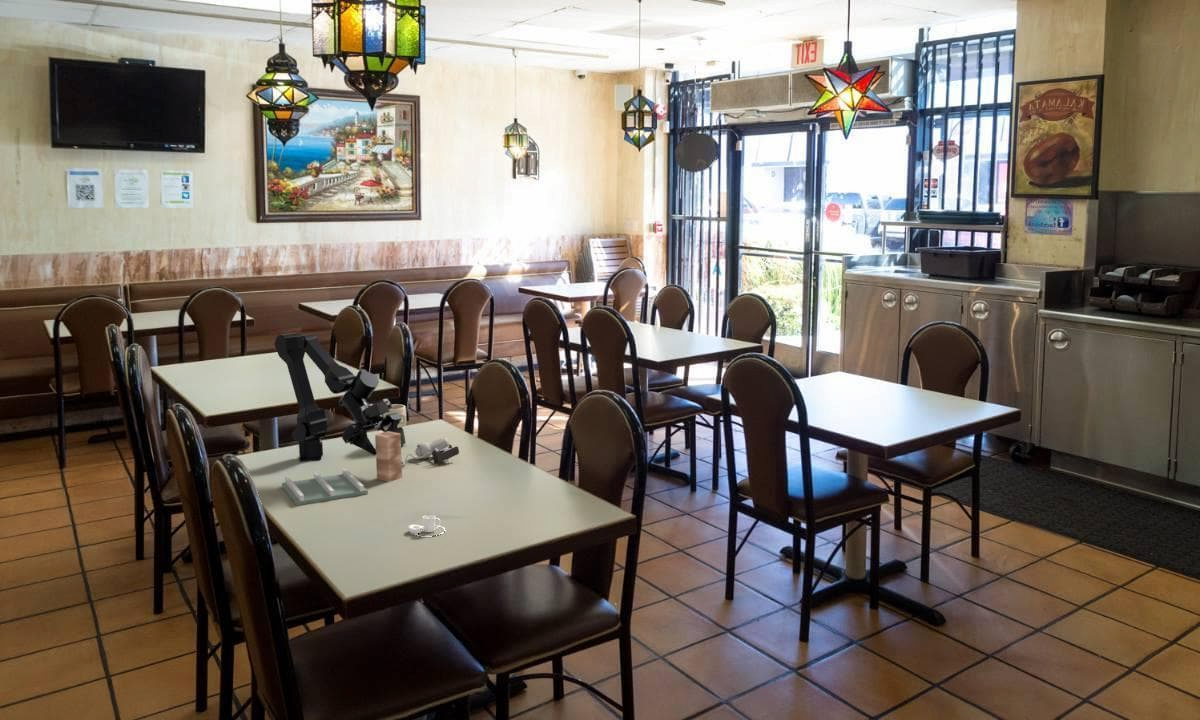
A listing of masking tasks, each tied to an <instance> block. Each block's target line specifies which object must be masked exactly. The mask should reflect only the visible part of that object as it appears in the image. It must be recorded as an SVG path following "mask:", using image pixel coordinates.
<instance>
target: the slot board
mask: <svg viewBox="0 0 1200 720" xmlns="http://www.w3.org/2000/svg"><path fill="white" fill-rule="evenodd" d="M341 472H342V474H341V473H340V474H335V475H333V474H332V475H328V476H322V475H320V474H319V472H314V473H313V475H314V476H313V478H306V479H301V480H294V481H293V480H292V479H291V477H289V476H287V477H284V480H285V481H284V482H282V483H281V487H282V489H283V490H284V491H285V492H286V494H287V495H288V497H289V498H290V499H291V500H292V501H293V502H294V504H295V505H296V506H301V505H307V504H312V503H313V504H314V503H319V502H320V503H321V502H327V501H331V500H337V499H338V500H339V499H344V498H350V497H357V496H363V495H368V494H369V491H368V489H367V488H366V487H365V485H364V484H363V483H362V482H360V480H359V479H358V478H356V477H355V476H354V475H353V474H352V473H351V472H350V471H349V470H348V469H347V468H342V471H341Z"/></svg>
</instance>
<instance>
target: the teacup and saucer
mask: <svg viewBox="0 0 1200 720" xmlns="http://www.w3.org/2000/svg"><path fill="white" fill-rule="evenodd" d="M437 520H438V521H439V523H438V525H436V521H437ZM435 526H437V527H436V528H435ZM423 527H424V528H423ZM438 527H442V528H443V529H444V531H445V532H446V531H447V529H446V527H444V526H442V525H441V519H440V518H439V517H436V515H435V514H426V515H422V525H419V524H410V525H408V526H407V531H408V532H409V533H411V534H413V535H414V536H416V535H417V536H416V537H419V535H418V534H417V533H419V534H421V533H422V532H423V530H424V532H425V533H426V532H432V533H433V531H434V532H435V531H436V530H437V529H438ZM445 529H446V530H445ZM439 533H440V532H439ZM440 534H441V535H444V534H445V533H444V532H442V533H440ZM440 534H439V536H441V535H440ZM435 537H437V535H436V536H435ZM420 538H432V536H429V535H425V536H421V537H420Z"/></svg>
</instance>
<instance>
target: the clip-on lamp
mask: <svg viewBox="0 0 1200 720" xmlns="http://www.w3.org/2000/svg"><path fill="white" fill-rule="evenodd" d="M414 453H415V455H416V456H414V455H413V454H412V453H409V454H407V456H406V458H405V460H404V461H402V466H406V463H407V459H408V458H409V456H410V457H411V458H413V459H414V460H418V459H421V460H425V459H428V458H429V457H431V456H432V459H433V463H434V464H435V465H436V464H438V466H441V465H443V464H444V461H446V460H448V459H450V458H453V457H455V456H458V455H459V454H460V450H459V446H454V447H453V446H452V444H450V442H449V440H448V438H447V437H442V438H438V439H435V440H433V441H430V442H426V441H421V442H420V443H418V444H417V445H416V448H415V450H414Z"/></svg>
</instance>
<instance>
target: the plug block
mask: <svg viewBox="0 0 1200 720" xmlns="http://www.w3.org/2000/svg"><path fill="white" fill-rule="evenodd" d="M374 435H375V436H374V437H375V440H374V441H375V442H374V443H375V450H376V452H377V454H376V455H375V461H376V479H377V480H381V481H385V482H389V483H390V482H392V481H393V482H394V481H395V480H399V479H401V478H403V465H402V462H403V461H402V445H401V434H400V433H395V432H390V431H387V432H384V431H382V432H380V433H378V434H377V433H376V434H374Z"/></svg>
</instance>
